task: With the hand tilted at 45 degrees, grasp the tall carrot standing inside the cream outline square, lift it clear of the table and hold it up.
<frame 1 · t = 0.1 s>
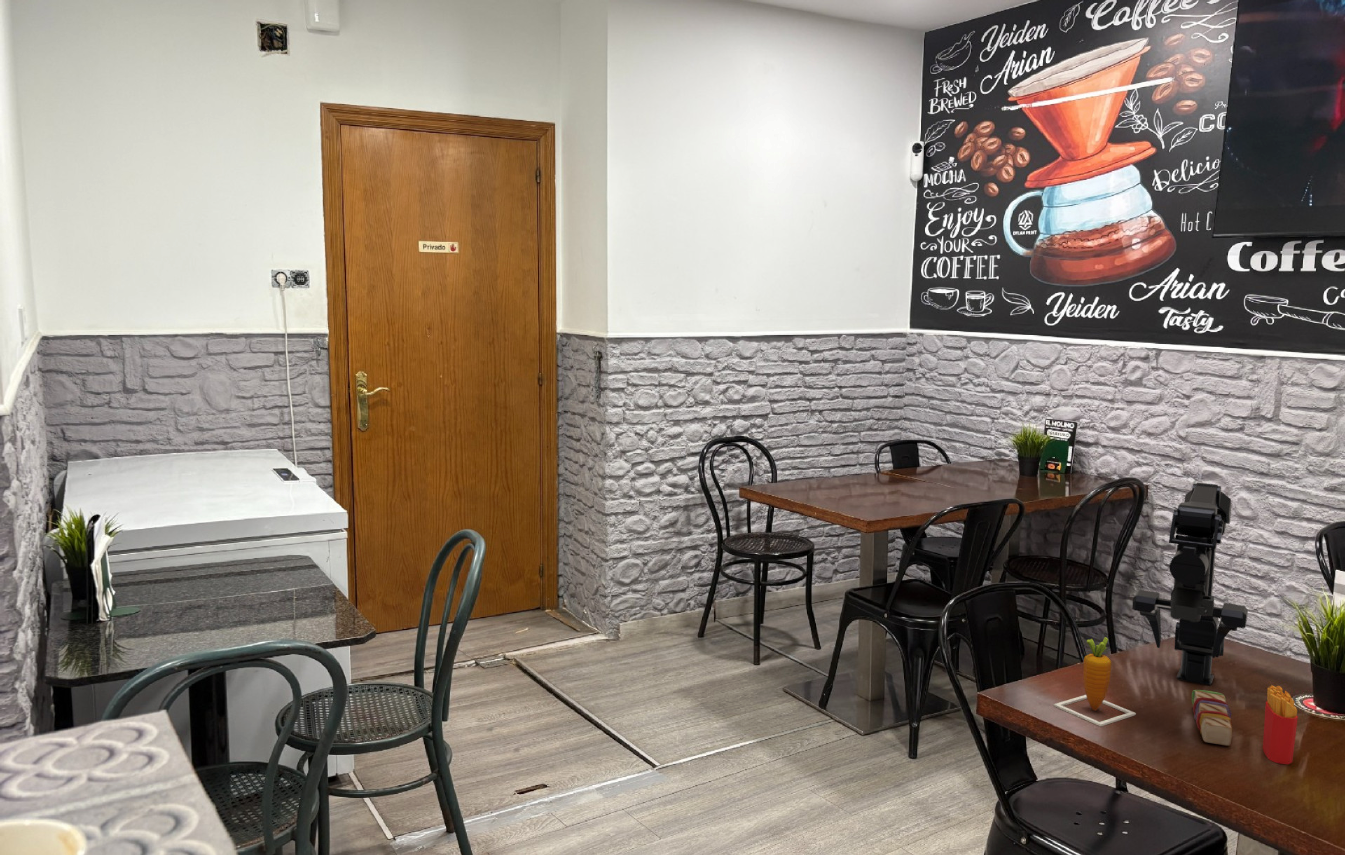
hand: (1185, 652, 182), 15 cm above the table, tool pointing down, fingers open, 9 cm apart
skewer: (1211, 726, 184), on the table
carrot: (1094, 711, 190), on the table
french fries: (1276, 756, 172), on the table
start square: (1094, 710, 190), on the table
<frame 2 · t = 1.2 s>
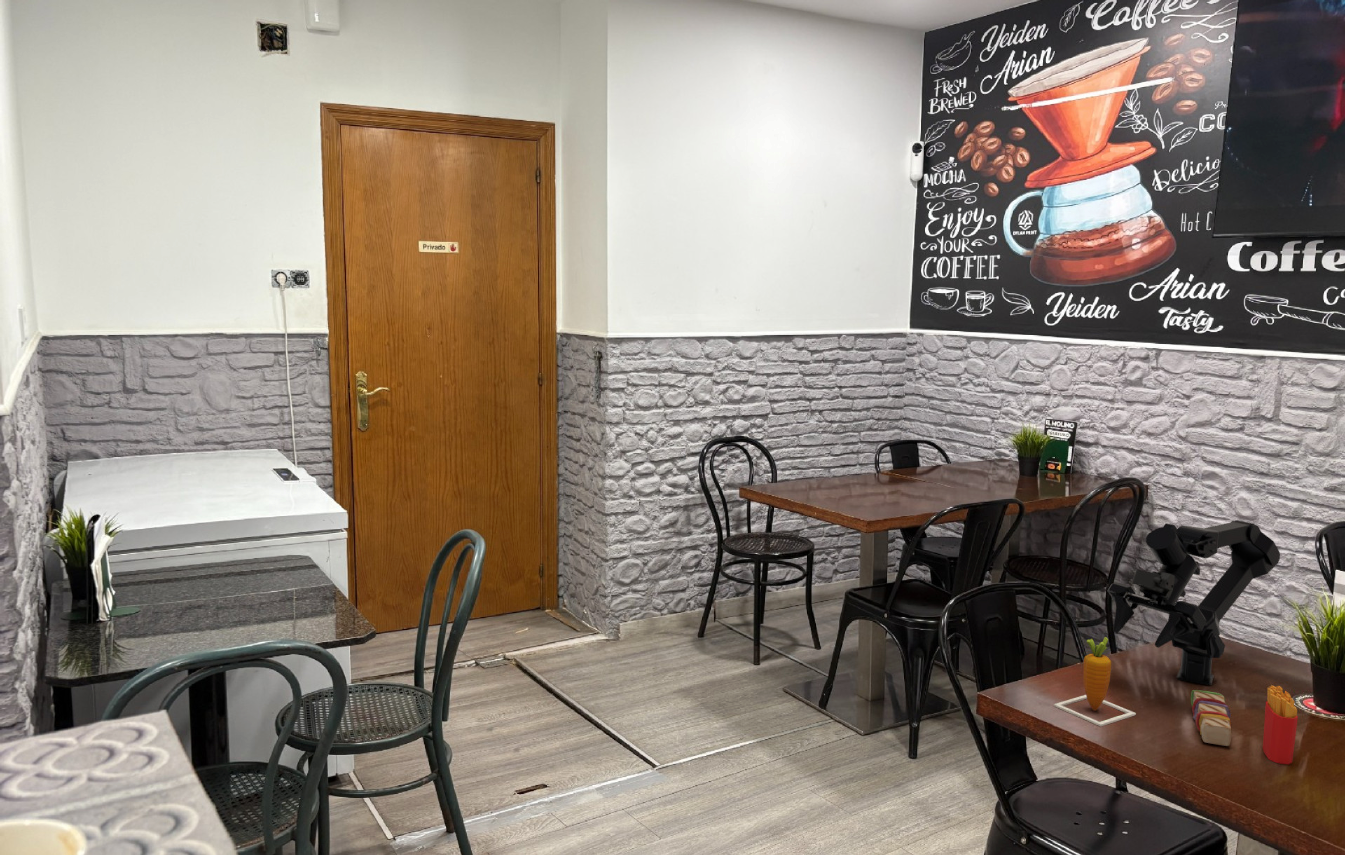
hand: (1135, 639, 194), 13 cm above the table, tool tilted 45°, fingers open, 9 cm apart
nothing on the table moved.
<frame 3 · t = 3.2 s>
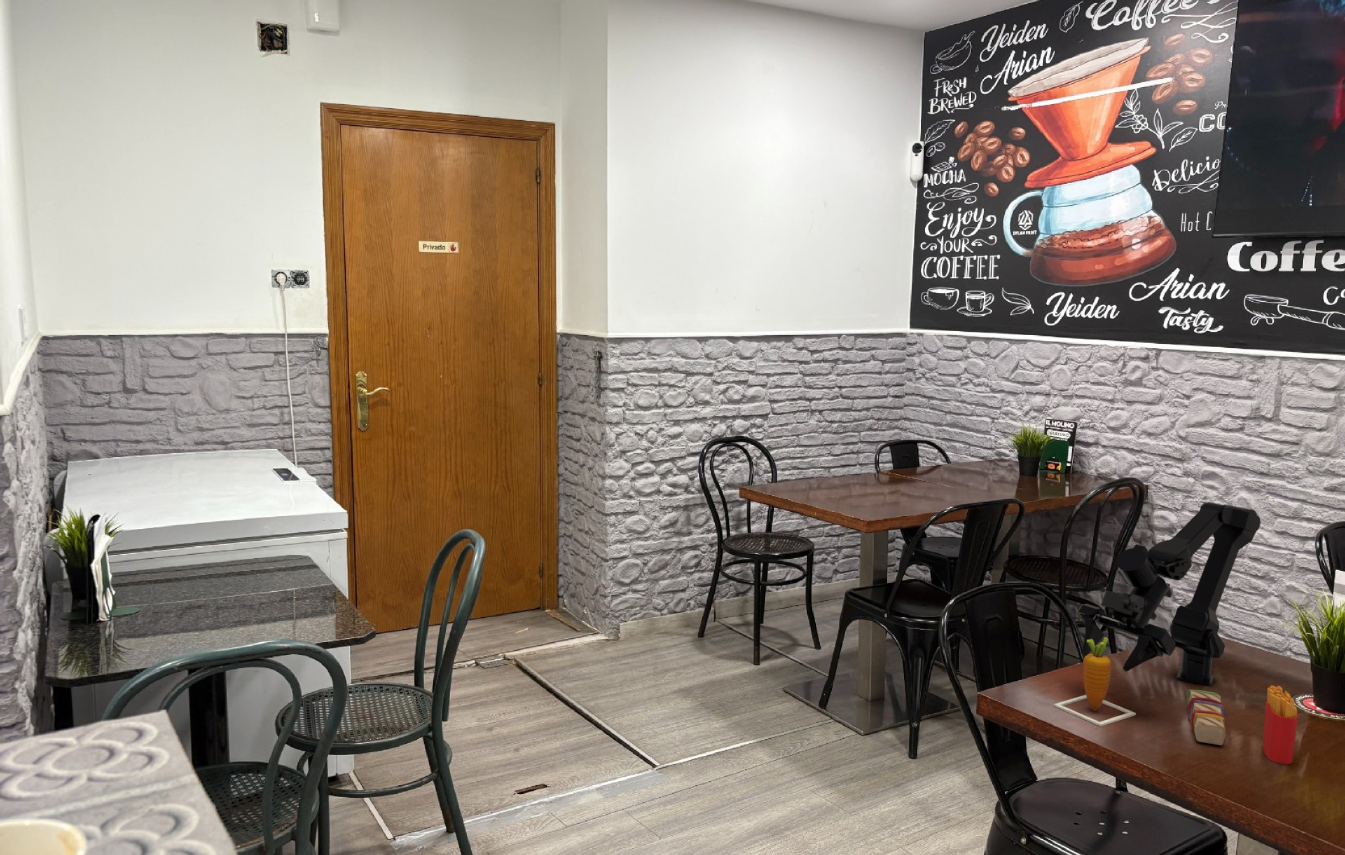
hand: (1103, 662, 190), 10 cm above the table, tool tilted 45°, fingers open, 9 cm apart
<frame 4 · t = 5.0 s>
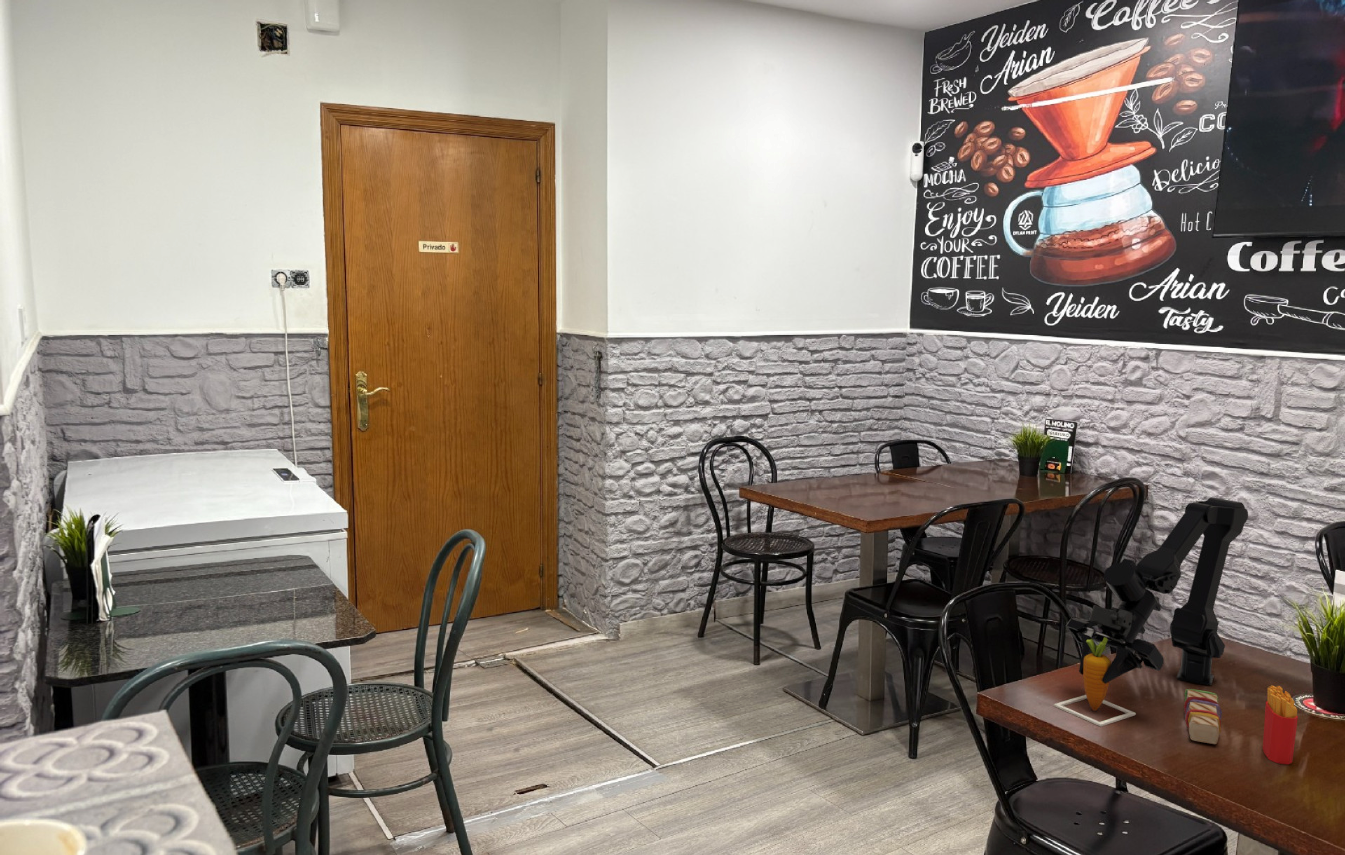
hand: (1091, 677, 188), 7 cm above the table, tool tilted 45°, fingers closed on carrot, 5 cm apart
carrot: (1094, 711, 190), on the table, touching gripper
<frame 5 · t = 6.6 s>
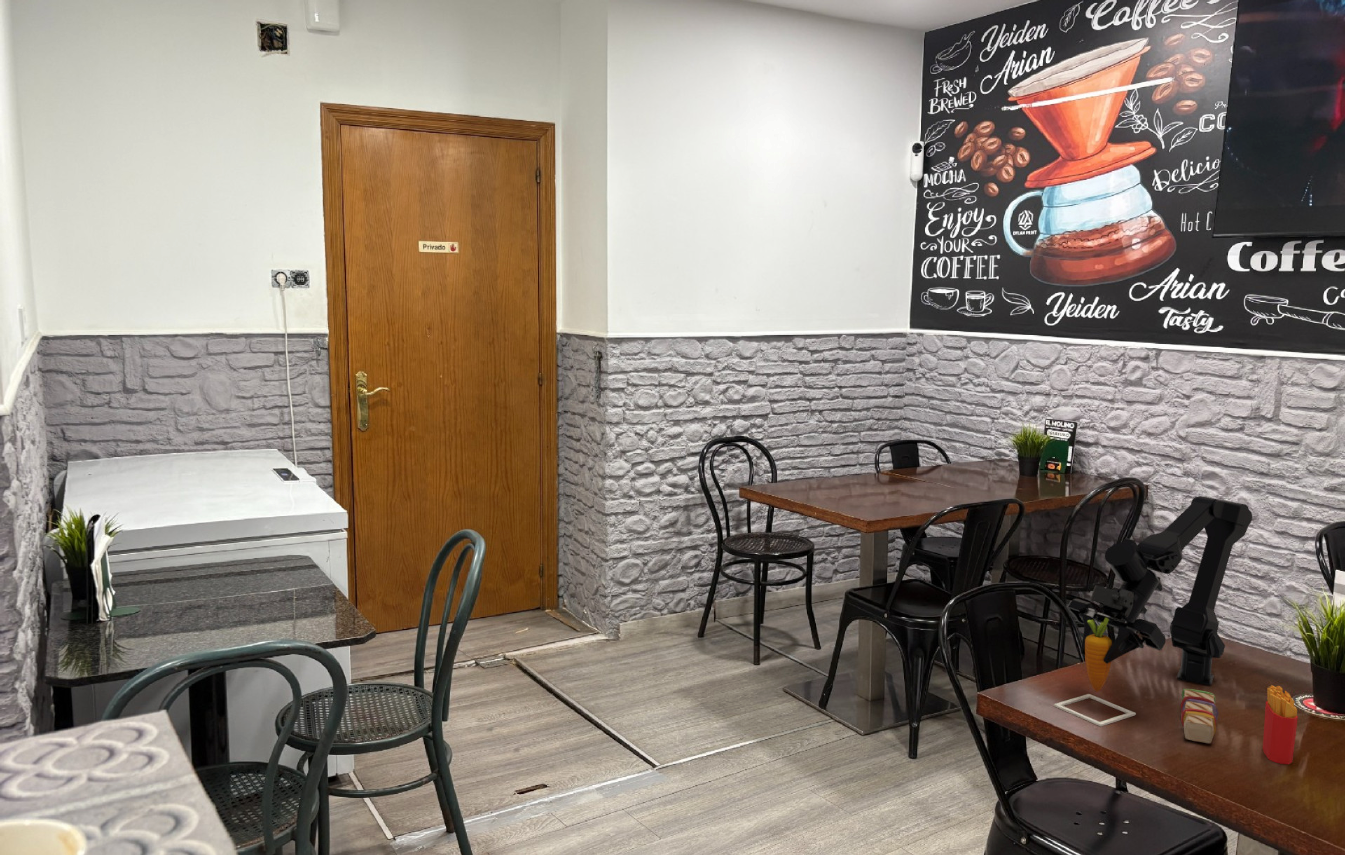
hand: (1093, 658, 188), 11 cm above the table, tool tilted 45°, fingers closed on carrot, 5 cm apart
carrot: (1096, 692, 190), point 4 cm above the table, touching gripper
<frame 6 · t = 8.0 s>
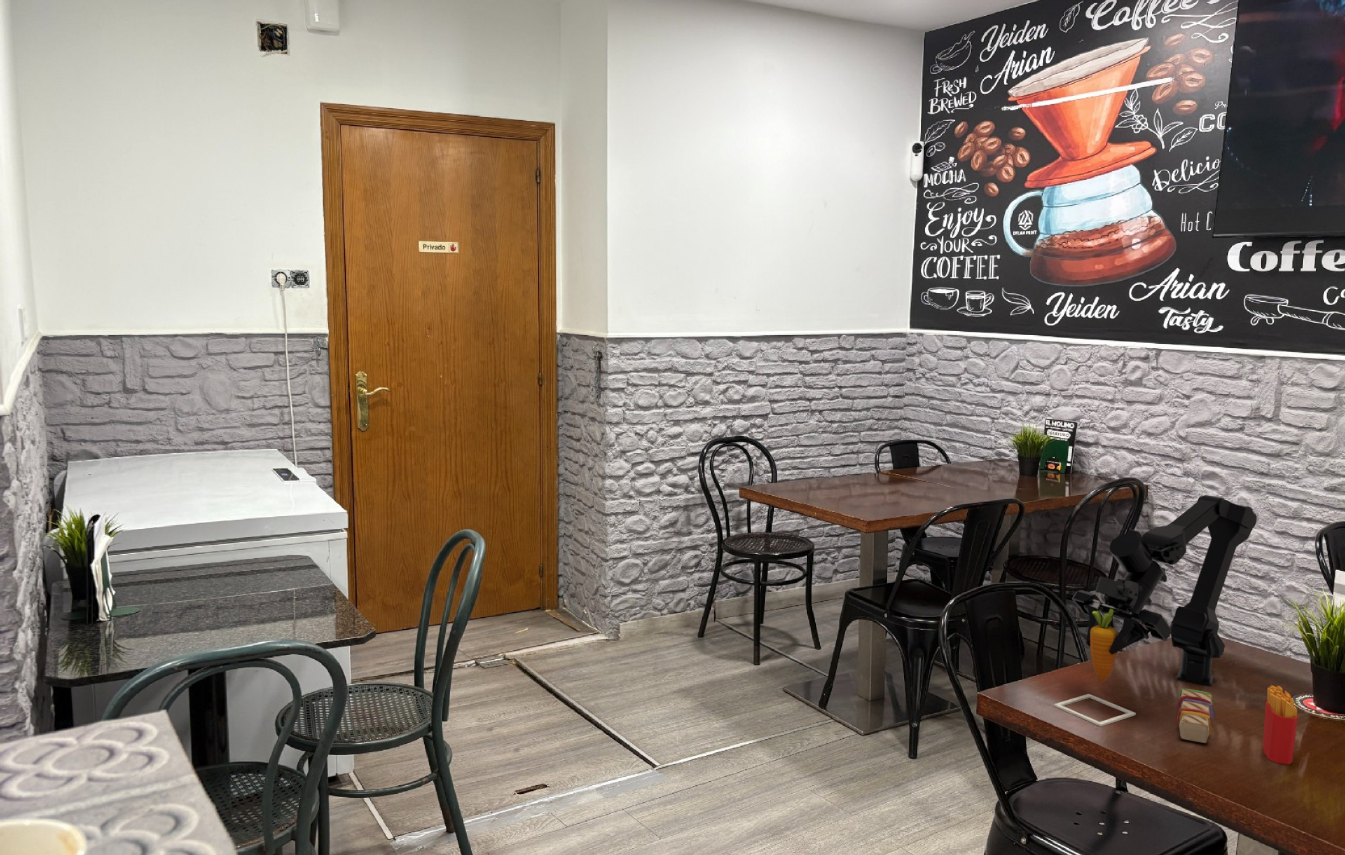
hand: (1098, 649, 189), 13 cm above the table, tool tilted 45°, fingers closed on carrot, 5 cm apart
carrot: (1102, 683, 190), point 5 cm above the table, touching gripper
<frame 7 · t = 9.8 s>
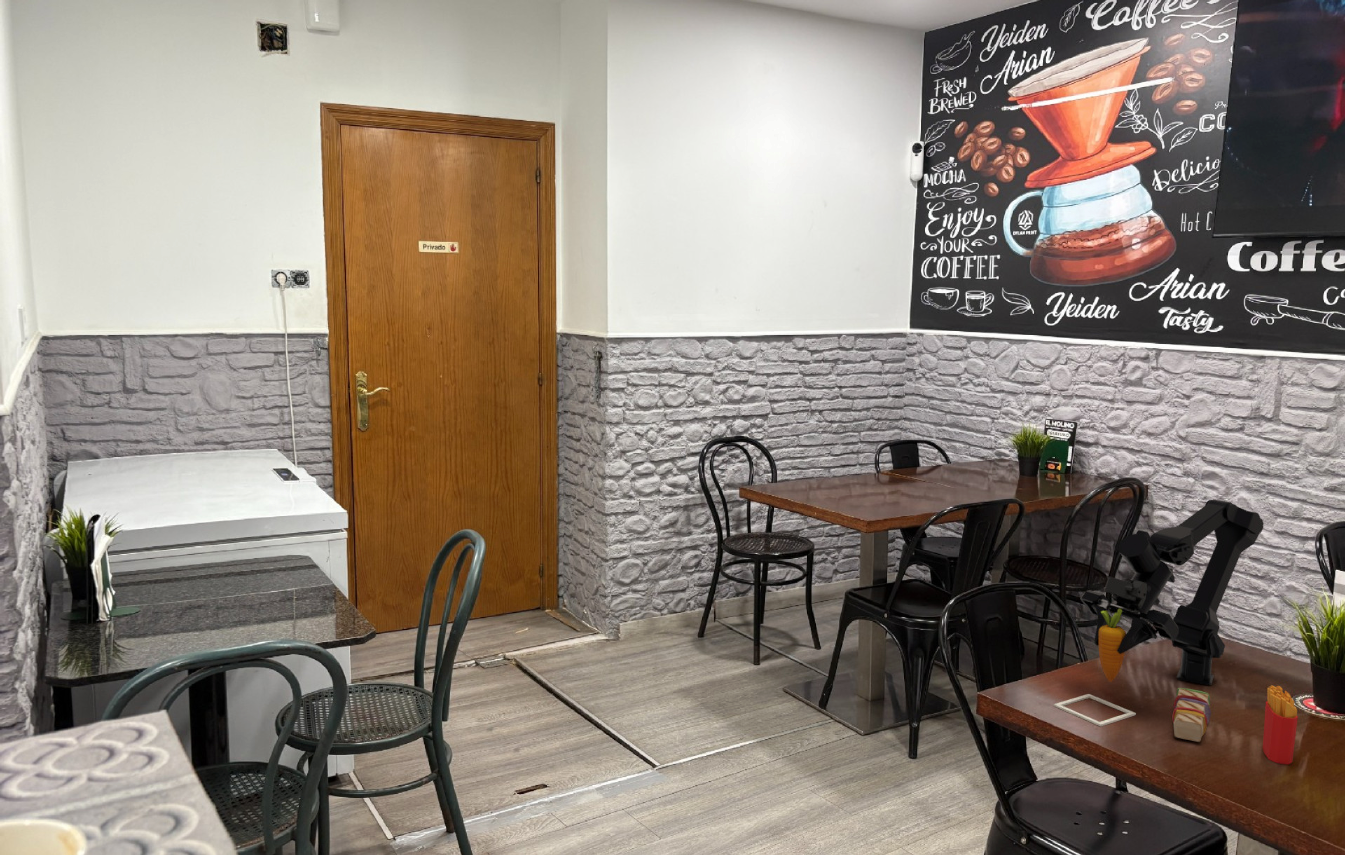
hand: (1107, 648, 190), 12 cm above the table, tool tilted 45°, fingers closed on carrot, 5 cm apart
carrot: (1110, 682, 191), point 5 cm above the table, touching gripper
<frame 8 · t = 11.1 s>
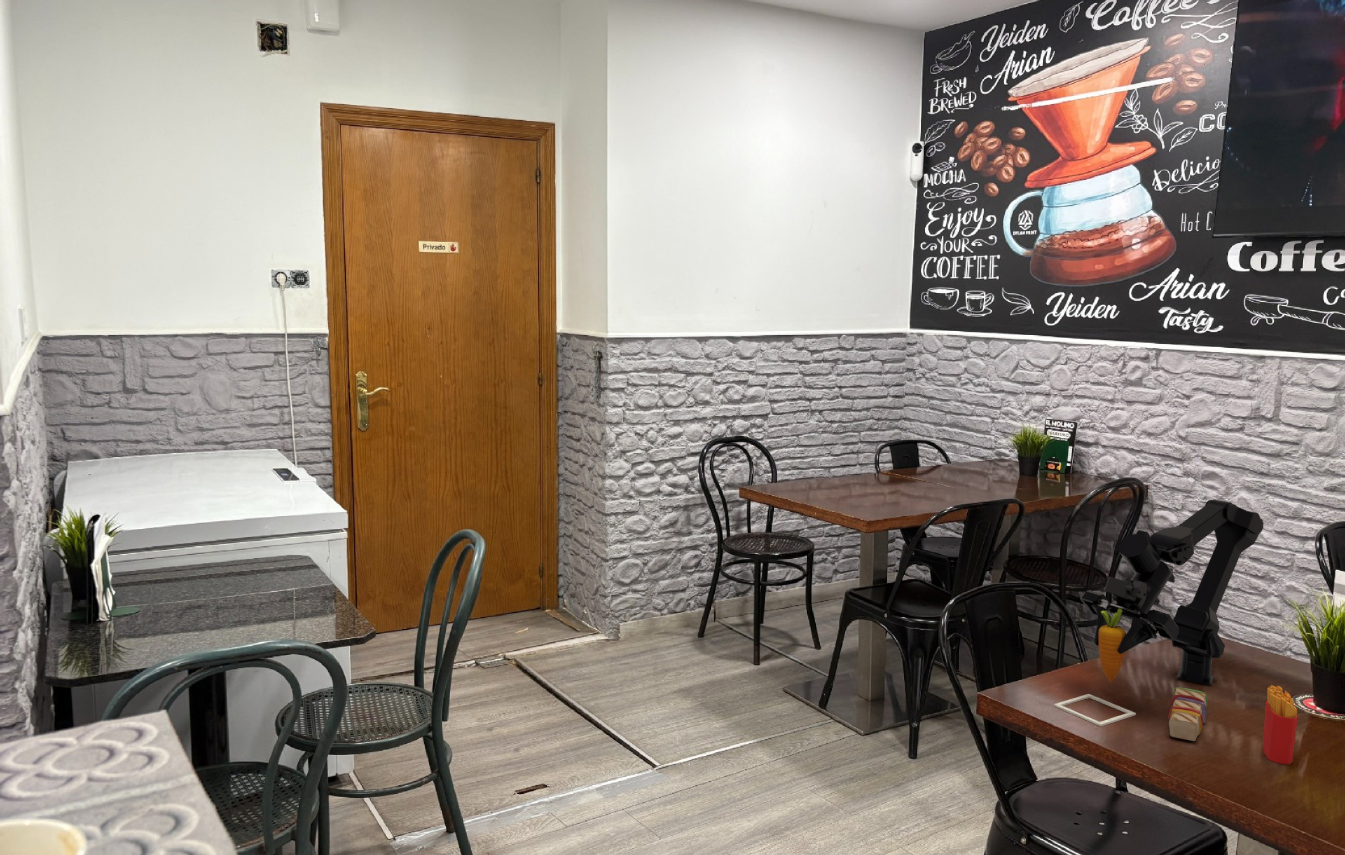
hand: (1107, 648, 190), 12 cm above the table, tool tilted 45°, fingers closed on carrot, 5 cm apart
carrot: (1110, 682, 191), point 5 cm above the table, touching gripper
at the end: the gripper is holding carrot; carrot point 5.0 cm above the table; carrot tilted 1° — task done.
